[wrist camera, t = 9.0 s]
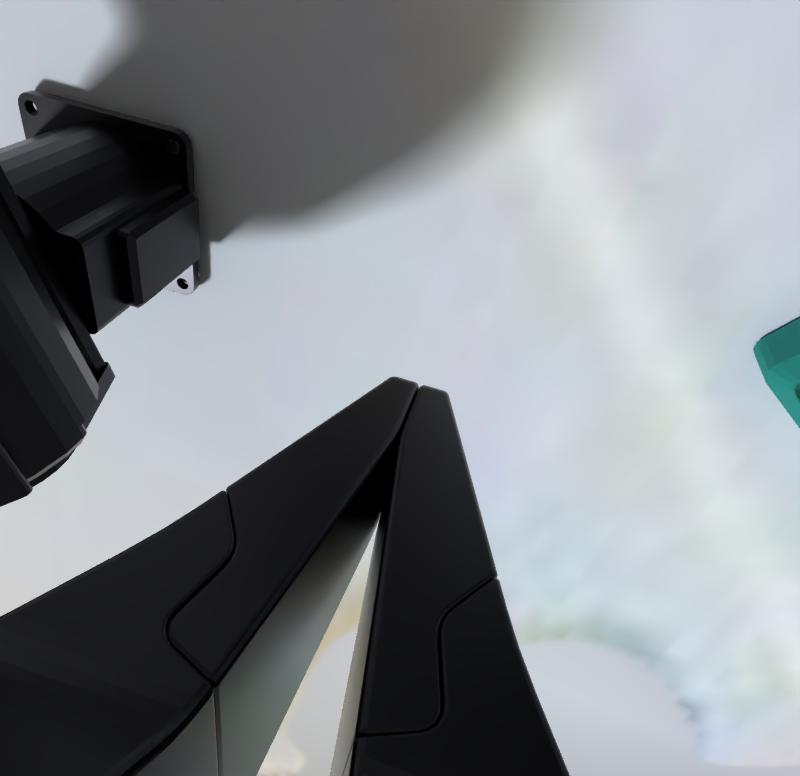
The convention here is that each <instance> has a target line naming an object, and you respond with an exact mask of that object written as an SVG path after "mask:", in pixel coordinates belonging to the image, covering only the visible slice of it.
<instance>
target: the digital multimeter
mask: <svg viewBox="0 0 800 776" xmlns="http://www.w3.org/2000/svg"><path fill="white" fill-rule="evenodd" d="M754 353H755V357H756V359H757V361H758V364H759V366H760V369H761V371H762V374H763V376H764V379H765V381H766V383H767V385H768V386H769V387H770V389H771V390H772V391H773V393H774V394H775V395H776V397H777V398H778V400H779V401H780V402H781V404H782V405H783V406H784V408H785V409H786V410H787V412H788V413H789V414H790V416H791V417H792V418H793V420H794V421H795V422H796V424H797V425H798V426H799V428H800V318H799V319H797V320H795V321H793V322H791V323H789V324H787V325H786V326H784V327H782V328H780V329H778V330H776V331H775V332H773V333H771V334H769V335H767V336H765V337H764V338H762V339H761V340H759V341H758V342H757V343H756V345H755V347H754Z"/></svg>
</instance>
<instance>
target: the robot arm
mask: <svg viewBox="0 0 800 776" xmlns="http://www.w3.org/2000/svg"><path fill="white" fill-rule="evenodd" d="M33 103H34V104H35V105H36V107H37V109H38V111H37V110H36V109H35V108H34V106H33ZM18 105H19V109H20V114H21V118H22V123H23V127H24V132H25V137H26V140H23V141H20V142H18V143H15V144H12V145H9V146H6V147H3V148H1V149H0V507H1V506H3V505H6V504H8V503H11V502H13V501H16V500H18V499H21V498H23V497H25V496H27V495H28V494H30V493H31V491H32V489H33V488H32V487H34V486H35V485H37V484H39V483H40V482H42V481H44V480H45V479H46V478H48V477H49V476H50V475H51V474H53V473H54V472H55V471H57V470H58V469H59V468H60V467H61V466H62V465H63V464H64V463H65V462H66V461H67V460H68V459H69V457H70V456H71V455H72V453H73V452H74V450H75V449H76V447H77V446H78V445H79V444H80V443H81V442H82V441H83V439H84V437H85V435H86V429H87V427H88V425H89V423H90V422H91V420H92V418H93V416H94V414H95V412H96V411H97V409H98V407H99V405H100V403H101V402H102V400H103V398H104V396H105V394H106V392H107V391H108V389H109V387H110V385H111V383H112V381H113V380H114V378H115V375H114V373H113V371H112V369H111V367H110V365H109V363H108V362H104V360H103V358H102V357H101V355H100V353H99V351H98V349H97V347H96V345H95V343H94V341H93V339H92V338H91V336H90V334H96V333H97V332H98V331H100V330H101V329H102V328H103V327H105V326H106V325H107V324H108V323H110V322H111V321H112V320H113V319H115V318H116V317H117V316H118V315H120V314H121V313H122V312H123V311H125V310H126V309H127V308H128V307H130V306H134V307H137V308H138V307H141V306H142V305H144V304H145V303H146V302H147V301H149V300H150V299H151V298H152V297H154V296H155V295H156V294H157V293H158V292H160V291H161V290H162V289H163V288H164V289H167V290H171V291H174V292H177V293H181V294H186V295H188V294H191V293H192V292H193V291H194V290H195V289H196V288H197V287H198V285H199V275H198V260H199V259H200V256H201V255H200V232H199V210H198V199H197V197H196V195H195V192H194V171H193V150H192V143H191V140H190V138H189V137H188V135H187V134H186V133H185V132H184V131H182V130H180V129H177V128H173V127H170V126H166V125H162V124H158V123H155V122H151V121H147V120H144V119H140V118H136V117H132V116H129V115H125V114H121V113H117V112H114V111H110V110H106V109H102V108H99V107H95V106H91V105H88V104H84V103H80V102H76V101H73V100H69V99H65V98H61V97H58V96H54V95H50V94H46V93H43V92H39V91H28V92H24V93H22V94H21V95H20V96H19V98H18ZM173 139H174V140H176V141H177V142H178V144H179V146H180V151H179V150H177V149H176V148H175V147H174V145H173ZM182 278H183V279H185V280H186V281H187V283H188V285H187V284H186V283H184V281H183V280H182ZM89 333H90V334H89ZM379 518H380V519H379ZM378 520H379V524H378V528H377V532H376V537H375V541H374V547H373V552H372V557H371V562H370V568H369V573H368V578H367V583H366V589H365V594H364V599H363V604H362V610H361V615H360V620H359V625H358V631H357V636H356V642H355V646H354V652H353V657H352V662H351V667H350V673H349V678H348V683H347V688H346V694H345V699H344V704H343V709H342V715H341V720H340V725H339V731H338V736H337V741H336V747H335V752H334V757H333V762H332V767H331V772H330V776H570V775H569V773H568V770H567V768H566V765H565V763H564V760H563V758H562V755H561V753H560V750H559V748H558V746H557V743H556V741H555V738H554V736H553V733H552V731H551V728H550V726H549V723H548V721H547V719H546V716H545V714H544V711H543V709H542V707H541V704H540V701H539V699H538V697H537V694H536V691H535V689H534V686H533V683H532V681H531V678H530V675H529V673H528V670H527V667H526V665H525V662H524V659H523V657H522V654H521V651H520V649H519V646H518V642H517V639H516V636H515V633H514V630H513V626H512V623H511V620H510V617H509V613H508V610H507V607H506V603H505V599H504V596H503V592H502V588H501V585H500V581H499V580H498V579H496V578H497V571H496V567H495V564H494V560H493V556H492V553H491V549H490V545H489V542H488V538H487V534H486V531H485V527H484V523H483V520H482V516H481V512H480V509H479V505H478V501H477V498H476V494H475V490H474V487H473V483H472V479H471V476H470V472H469V468H468V464H467V461H466V457H465V453H464V450H463V446H462V442H461V439H460V435H459V431H458V428H457V424H456V420H455V417H454V413H453V409H452V406H451V402H450V398H449V395H448V393H447V392H445V391H443V390H439V389H436V388H432V387H429V386H426V385H423V386H421V387H420V388H419V386H418V384H417V383H415V382H412V381H409V380H406V379H402V378H399V377H390V378H389V379H387V380H386V381H384V382H383V383H381V384H380V385H378V386H377V387H375V388H374V389H372V390H371V391H369V392H368V393H367V394H365V395H364V396H362V397H361V398H359V399H358V400H356V401H355V402H353V403H352V404H350V405H349V406H347V407H346V408H344V409H343V410H341V411H340V412H338V413H337V414H335V415H334V416H332V417H331V418H329V419H328V420H327V421H325V422H324V423H322V424H321V425H319V426H318V427H316V428H315V429H313V430H312V431H310V432H309V433H307V434H306V435H304V436H303V437H301V438H300V439H298V440H297V441H295V442H294V443H292V444H291V445H289V446H288V447H287V448H285V449H284V450H282V451H281V452H279V453H278V454H276V455H275V456H273V457H272V458H270V459H269V460H267V461H266V462H264V463H263V464H261V465H260V466H258V467H257V468H255V469H254V470H252V471H251V472H249V473H248V474H247V475H245V476H244V477H242V478H241V479H239V480H238V481H236V482H235V483H233V484H232V485H230V486H229V487H227V489H226V492H225V491H221V492H219V493H218V494H216V495H215V496H213V497H212V498H211V499H209V500H208V501H206V502H205V503H203V504H202V505H200V506H199V507H197V508H195V509H194V510H192V511H191V512H189V513H188V514H186V515H184V516H183V517H181V518H180V519H178V520H176V521H175V522H173V523H172V524H170V525H169V526H167V527H165V528H164V529H162V530H160V531H159V532H157V533H155V534H153V535H151V536H150V537H148V538H146V539H144V540H143V541H141V542H139V543H137V544H135V545H134V546H132V547H130V548H128V549H127V550H125V551H123V552H121V553H119V554H118V555H116V556H114V557H112V558H110V559H108V560H106V561H104V562H103V563H101V564H99V565H97V566H95V567H93V568H91V569H89V570H88V571H86V572H84V573H82V574H80V575H78V576H76V577H74V578H73V579H71V580H69V581H67V582H65V583H63V584H61V585H59V586H58V587H56V588H54V589H52V590H50V591H48V592H46V593H44V594H43V595H41V596H39V597H37V598H35V599H33V600H31V601H29V602H28V603H26V604H24V605H22V606H20V607H18V608H16V609H14V610H12V611H11V612H9V613H7V614H5V615H3V616H1V617H0V776H256V775H257V773H258V771H259V769H260V767H261V765H262V762H263V760H264V758H265V756H266V754H267V752H268V750H269V748H270V746H271V744H272V742H273V740H274V738H275V736H276V734H277V731H278V729H279V727H280V725H281V723H282V721H283V719H284V717H285V715H286V713H287V711H288V709H289V707H290V705H291V702H292V700H293V698H294V696H295V694H296V692H297V690H298V688H299V686H300V684H301V682H302V680H303V678H304V676H305V674H306V671H307V669H308V667H309V665H310V663H311V661H312V659H313V657H314V655H315V653H316V651H317V649H318V647H319V645H320V643H321V640H322V638H323V636H324V634H325V632H326V630H327V628H328V626H329V624H330V622H331V620H332V618H333V616H334V614H335V611H336V609H337V607H338V605H339V603H340V601H341V599H342V597H343V595H344V593H345V591H346V589H347V587H348V585H349V583H350V580H351V578H352V576H353V574H354V572H355V570H356V568H357V566H358V564H359V562H360V560H361V558H362V556H363V554H364V551H365V549H366V547H367V545H368V543H369V541H370V539H371V537H372V535H373V532H374V530H375V528H376V526H377V523H378Z"/></svg>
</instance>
